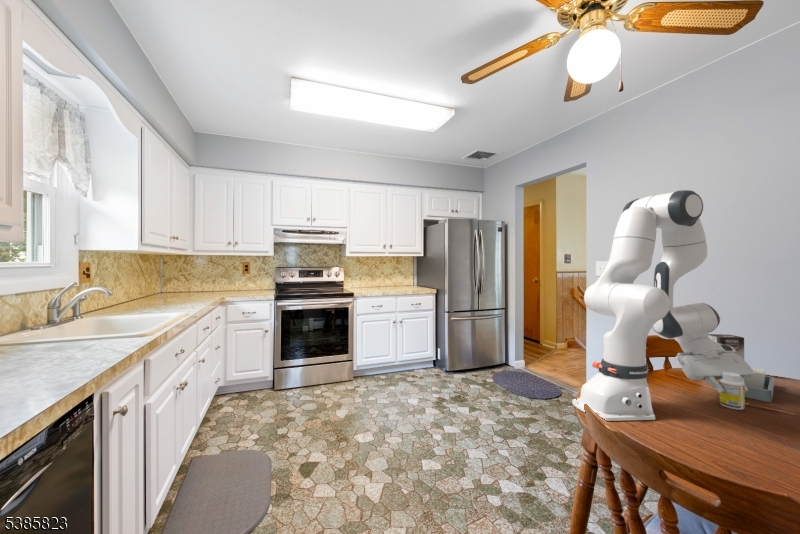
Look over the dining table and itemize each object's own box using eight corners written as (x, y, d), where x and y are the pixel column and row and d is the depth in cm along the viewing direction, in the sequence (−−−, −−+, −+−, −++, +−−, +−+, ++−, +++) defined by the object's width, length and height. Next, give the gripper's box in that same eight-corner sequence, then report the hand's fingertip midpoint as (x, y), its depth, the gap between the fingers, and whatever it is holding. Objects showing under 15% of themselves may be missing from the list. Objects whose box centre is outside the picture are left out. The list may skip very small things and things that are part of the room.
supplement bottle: (731, 402, 104) (731, 371, 104) (750, 410, 98) (749, 376, 98) (714, 403, 104) (713, 371, 104) (732, 410, 98) (731, 377, 98)
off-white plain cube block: (763, 391, 110) (763, 374, 110) (734, 386, 115) (734, 369, 115) (765, 387, 114) (764, 370, 114) (736, 381, 119) (736, 365, 119)
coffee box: (719, 378, 126) (719, 337, 127) (706, 372, 133) (705, 333, 133) (745, 378, 126) (744, 337, 126) (730, 373, 132) (729, 334, 132)
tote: (771, 405, 101) (771, 391, 101) (722, 395, 110) (722, 382, 110) (773, 389, 114) (773, 377, 114) (729, 381, 122) (729, 369, 122)
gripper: (679, 347, 107) (708, 388, 98) (737, 346, 108) (773, 386, 98) (667, 357, 112) (695, 397, 102) (723, 356, 113) (756, 395, 103)
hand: (733, 391), depth 100 cm, fingers closed on supplement bottle, 6 cm apart
